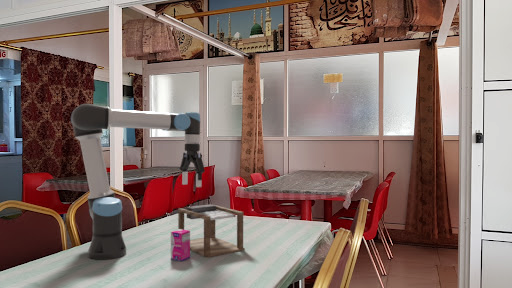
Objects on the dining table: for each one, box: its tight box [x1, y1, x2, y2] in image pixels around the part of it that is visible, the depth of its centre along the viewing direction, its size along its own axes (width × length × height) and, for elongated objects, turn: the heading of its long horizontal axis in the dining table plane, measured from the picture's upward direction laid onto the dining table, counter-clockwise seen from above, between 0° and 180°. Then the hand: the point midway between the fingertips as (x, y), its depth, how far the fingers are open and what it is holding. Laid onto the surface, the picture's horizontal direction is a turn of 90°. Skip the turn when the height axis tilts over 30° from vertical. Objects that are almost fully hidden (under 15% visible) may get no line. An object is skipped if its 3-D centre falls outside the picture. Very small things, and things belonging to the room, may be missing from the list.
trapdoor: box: [186, 203, 237, 221], centre depth 180 cm, size 20×15×5 cm
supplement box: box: [170, 229, 191, 262], centre depth 162 cm, size 6×6×12 cm
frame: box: [177, 204, 246, 258], centre depth 180 cm, size 28×19×17 cm
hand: (191, 185), depth 198 cm, fingers open, 13 cm apart
